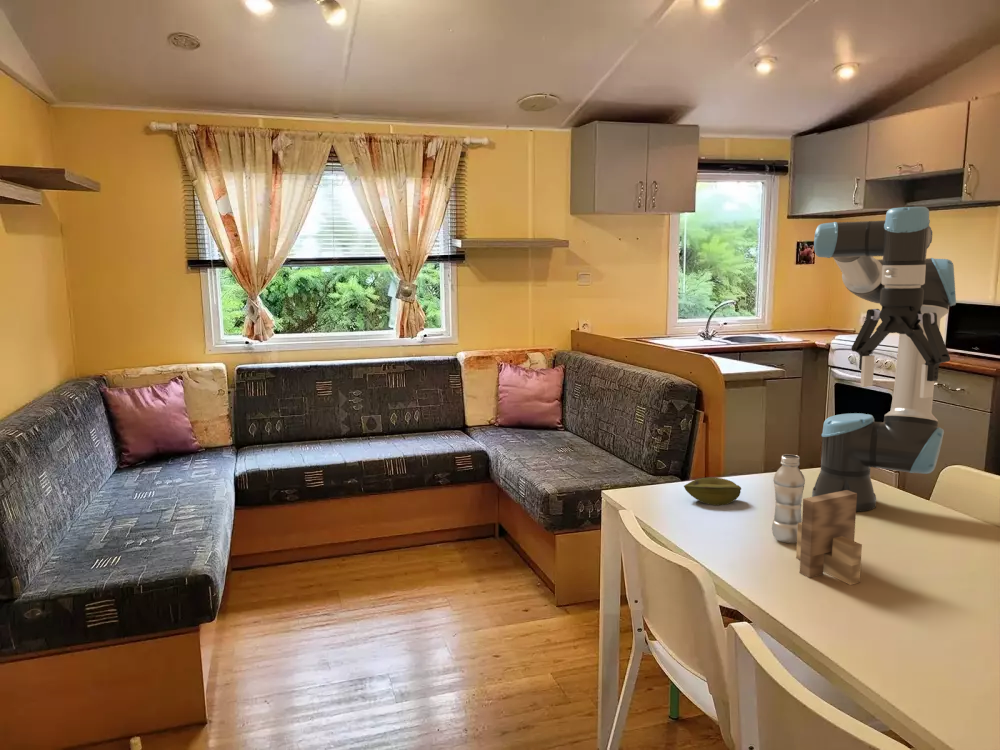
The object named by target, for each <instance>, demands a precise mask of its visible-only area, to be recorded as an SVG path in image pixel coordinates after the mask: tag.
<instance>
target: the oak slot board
mask: <svg viewBox="0 0 1000 750" xmlns="http://www.w3.org/2000/svg"><path fill="white" fill-rule="evenodd" d="M801 535H802V522H800V523H798V530H797V542H796V551H795V552H796V553H795V558H796V559H797V560H799V561H800V555H801ZM862 548H863V544H862V543H860V542H857V541H855V540H854V541H852V540H850V539H848V538H845V537H843V536H840V537H836V538H833V547H832V552H828V553H824V565H823V573H825V574H827V575H829V576H831V577H833V578H835V579H838V580H840V581H841V582H844V583H846V584H848V585H850V586H851V585H855V584H859V583H861V581H860V580H861V568H862V567H861V565H862V563H861V562H862Z"/></svg>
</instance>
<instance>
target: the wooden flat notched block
mask: <svg viewBox="0 0 1000 750" xmlns="http://www.w3.org/2000/svg"><path fill="white" fill-rule="evenodd" d="M856 503H857V493H854V492H851V491H849V490H844V491H839V492H834V493H829V494H824V495H819V496H814V497H812V496H811V497H810V496H809V497H805V498H802V513H801V516H802V535H801V555H800V560H799V574H801V575H803V576H805V577H807V578H808V579H809V578H814V577H817V576H823V574H824V572H823V565H824V553H828V552H832V547H833V538H836V537H840V536H843V537H845V538H848V539H850V540H852V541H855V534H856V533H855V532H856V519H857V518H856V515H857V511H856Z"/></svg>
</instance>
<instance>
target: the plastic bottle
mask: <svg viewBox="0 0 1000 750" xmlns="http://www.w3.org/2000/svg"><path fill="white" fill-rule="evenodd" d="M780 458H781V460H780V465H781V466H780V467H779V468H778V469H777V471H776V472H775V473H774V476H773V485H774V493H775V495H774V496H775V497H774V498H775V508H774V516H773V520H772V523H771V524H772V526H771V531H772V536H773V537H774V539H775V540H777V541H778V542H781V543H782V542H783V543H786V544H787V543H788V544H795V543H796V544H797V530H798V523H800V522H802V504H803V495H804V489H805V485H806V484H805V483H806V479H805V476H804V474H803V472H802V471H801V469H800V468H799V466H800V464H801V463H800V456H799V455H797V454H796V455H795V454H792V453H791V454H788V453H785V454H782V455H781V457H780Z"/></svg>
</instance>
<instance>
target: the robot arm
mask: <svg viewBox="0 0 1000 750" xmlns="http://www.w3.org/2000/svg"><path fill="white" fill-rule="evenodd" d="M885 213H886V214H885V220H884V219H883V220H868V221H867V220H863V221H862V220H861V221H834V222H825V223H820V224H818V225H817V226H816V229H815V232H814V239H813V249H814V253H815V255H816V256H817V258H826V259H831V258H832V259H833V260H834V263H836V266H838V269H839V270H840V272H841V280H842V282H843V285H844V286H845V288H846V289H847V291H849V292H850V293H852V294H853V295H855V296H856V297H859V298H861V299H863V300H865V301H867V302H871V303H875V304H878V305H880V306H881V309H879V308H871V309H867V311H866V315H865V316H866V317H865V320H864V322H863V324H862V326H861V328H860V330H859V332H858V334H857V336H856V338H855V340H854V341H853V344H852V346H851V349H850V350H851V351H852V352H855V353H858V356H859V361H858V362H859V363H858V364H859V365H858V369H859V370H860V372H861V373H860V385H859V386H860V387H862V388H866V387H873V386H874V372H875V370H874V369H875V355H874V353H873V352H874V351H875V350H876V349H877V347H878V346H879V345H880V344H881V343H882V342H883V341H884V340H885V338H886V337H887V336H888V335H889V334H899V335H898V338H899V339H898V345H897V354H896V355H897V356H896V365H895V367H896V368H895V374H894V375H895V377H894V387H893V395H892V404H891V405H892V407H891V410H890V411H888V412H887V413H885V414H884V417H883V422H882V421H875V418H874V416H873V415H872V414H869V413H867V414H866V413H862V412H861V413H860V412H859V413H857V412H854V413H851V412H850V413H841V414H836V415H831V416H829V417H827V418H826V419H825V420H824V422H823V427H822V433H821V437H822V438H821V453H820V454H821V458H820V460H821V461H820V471H819V474H818V477H817V478H816V481H815V483H814V486H813V487H812V493H811V497H814V496H819V495H824V494H829V493H834V492H839V491H844V490H849V491H851V492H854V493H857V503H856V512H865V511H866V512H867V511H870V510H873V509H875V507H876V506H877V495H876V493H875V490H874V487H873V482H872V478H871V468H876V469H881V470H882V469H883V470H889V471H897V472H903V473H904V472H905V473H910V474H924V475H928V474H931V473H933V472H934V471H935V469H936V466H937V463H938V459H939V456H940V451H941V448H942V444H943V437H944V434H945V430H944V429H943V428H941V427H939V426H938V424H939V423H938V422H939V420H938V419H937V418H936V416H934V414H933V413H932V412H933V403H934V392H935V391H934V390H935V389H934V388H935V382H937V381H938V379H939V371H940V370H939V367H940V365H941V364H943V363H947V362H950V361H951V356H950V354H949V351H948V348H947V346H946V344H945V340H944V338H943V334H942V333H941V331H940V328H941V327H940V326H941V319H942V318H944V316H946V315H947V314H948V313H949V310H950V307H952V306H953V307H954V306H956V304H957V299H956V298H957V297H956V295H957V294H956V282H955V281H956V280H955V268H954V262H953V261H952V260H950V259H948V258H934V257H930V258H927V251H928V249H929V247H930V245H931V243H933V242H932V241H933V230H932V227H931V226H930V222H931V221H930V209H929V208H928V207H926V206H907V207H905V206H904V207H903V206H902V207H892V208H890V209H888V210H887V211H886V212H885ZM874 257H875V258H874ZM876 257H883V258H882V259H881V258H880V259H877V258H876ZM879 320H881V322H880V324H879V325H878V323H879ZM877 325H878V326H877ZM874 331H875V332H874Z"/></svg>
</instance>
